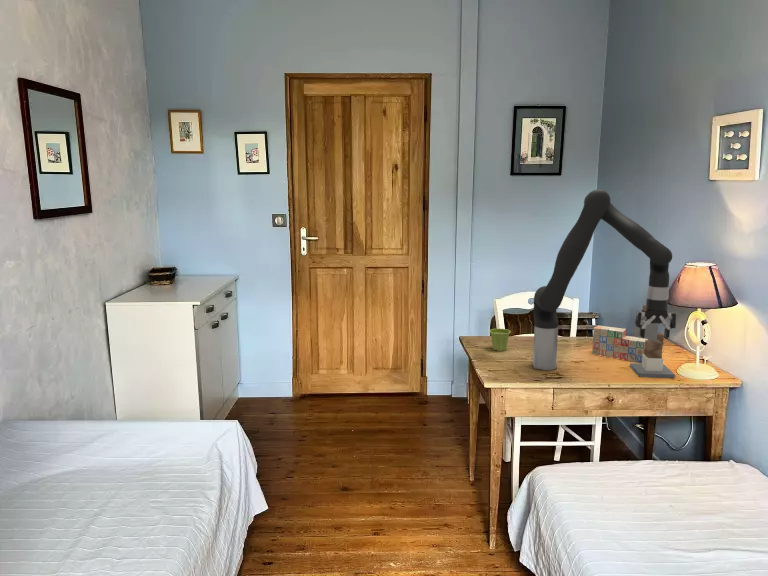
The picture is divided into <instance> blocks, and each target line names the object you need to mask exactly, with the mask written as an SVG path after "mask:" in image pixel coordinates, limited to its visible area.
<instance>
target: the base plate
mask: <svg viewBox="0 0 768 576" xmlns="http://www.w3.org/2000/svg"><path fill="white" fill-rule="evenodd" d="M629 363H630V364H629V367H630V369H631V370H632V371H633V372H634V373H635V374H636V375H637V376H638V377H639V378H655V379H660V378H661V379H675V378H676V374H675V373H674V372H673V371H672V370H671V369H669V367H667V365H665V364H664V358H663V357H662V359H658V358H647V357H646V356H645V355H644V354H643V355H642V363H639V362H629Z"/></svg>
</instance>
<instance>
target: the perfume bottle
mask: <svg viewBox="0 0 768 576" xmlns="http://www.w3.org/2000/svg"><path fill="white" fill-rule="evenodd" d="M645 311H646V309H645V310H643V309H641V312H645ZM645 319H646V317H645V315H644V316H643V317H642V318H641V323H640V324H642V323H643V321H644V320H645ZM635 321H636V318H635V319H634V322H635ZM644 329H645V337H644V339H648V340H657V333H659V331H658V329H659V324H658V323H650V324H649V325H647V326H646V327H645V328H644ZM633 332H634V333H633V337H638V338H641V336H640V328H639V327H637V326H636V325H635V324H634V331H633Z"/></svg>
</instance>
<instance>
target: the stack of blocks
mask: <svg viewBox="0 0 768 576" xmlns="http://www.w3.org/2000/svg"><path fill="white" fill-rule="evenodd" d="M592 332H593V333H592V351H591V352H592V354H591V355H593V354H595V355H594V356H599V355H601V356H600V357H604V356H606V358H610V357H613V358H612V359H616V358H619V359H618V360H622V359H624V360H623V361H628V360H629V361H628V362H633V363H641V364H642V355H643V354H644V352H645V340H648V339H644V338H638V337H634V336H630V335H627V328H620V327H616V326H615V327H614V326H613V327H612V326H604V325H596V326H595V327H593V330H592Z"/></svg>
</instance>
